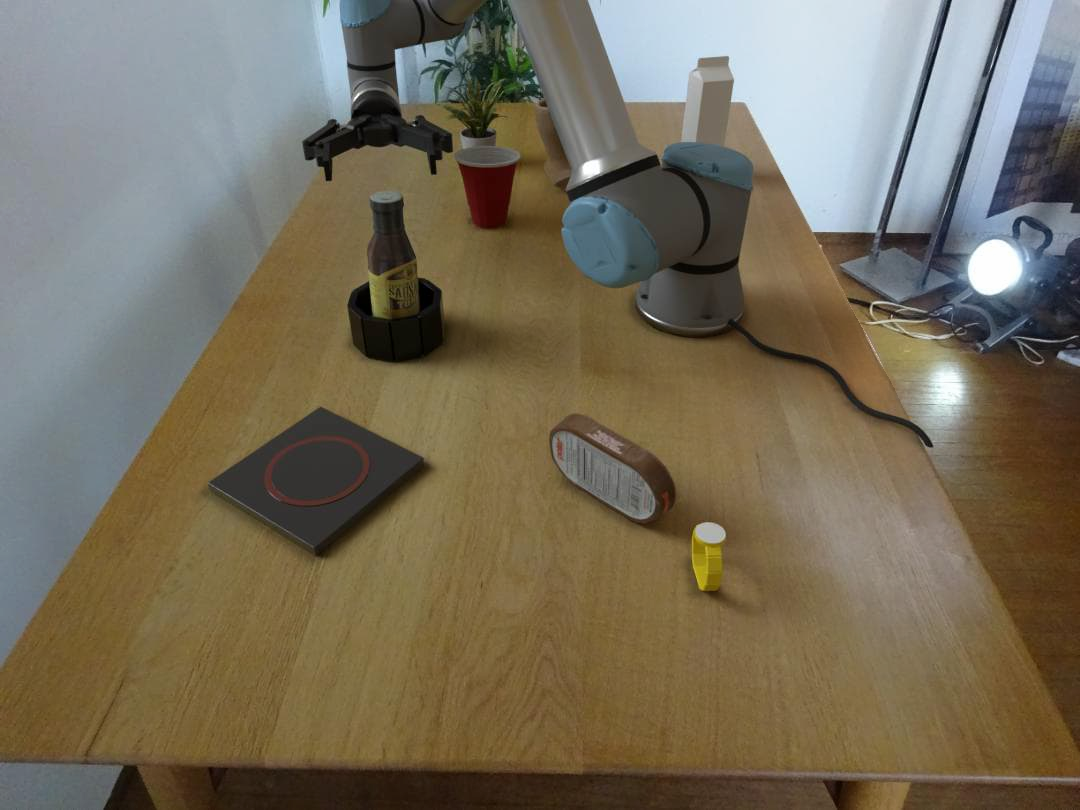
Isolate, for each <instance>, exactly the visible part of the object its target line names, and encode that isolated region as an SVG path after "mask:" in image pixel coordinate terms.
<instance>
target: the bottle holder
mask: <svg viewBox="0 0 1080 810" xmlns="http://www.w3.org/2000/svg"><path fill="white" fill-rule="evenodd" d="M418 288H419V303H420V312H419V313H418V314H416V315H411V316H406V317H400V318H394V319H387V318H381V317H375V316H373V313H372V303H371V293H370V284H369V280H368V281H366V282H364V283H363V284H361V285H360V286H357V287H356V288H354V289H352V291H351V292H350V295H349V297H348V301H347V305H346V308H347V314H348V319H349V325H350V333H351V337H352V338H351V339H352V344H353V346H354V347H355V348H356V349H357V350H358V351H359V352H360V353H362V355H364V357H366V358H368V359H372V360H377V361H378V360H379V361H385V362H389V363H394V362H395V363H400V362H404V361H410V360H415V359H421V358H423V357H426V356H428V355H429V354H430V353H432V352H433V351H435V350H436V349H437V348H439V347H441V346H442V345H443V343H444V339H445V331H446V326H445V315H444V312H445V311H444V301H443V290H442V289H441V288H439V287H438V286H437V285H435V284H434V283H433V282H431V280H429V279H427V278H425V277H420V276H418Z"/></svg>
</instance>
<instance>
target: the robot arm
mask: <svg viewBox="0 0 1080 810" xmlns="http://www.w3.org/2000/svg"><path fill="white" fill-rule="evenodd" d="M487 1H488V0H339V21H340V25H341V31H342V36H343V42H344V43H343V45H344V50H345V56H346V70H347V77H348V85H349V94H350V120H349V121H348V122H347V124H340V122H338V120H337V119H335V118H330V119H328V120H327V123H326V124H325V125H324V126H322V127H321V128H319V129H318V130H317V131H315V132H314V133H312V134H311V135H309V136H308V137H306V138H305V139H303V140H302V141H301V145H302V149H303V150H302V151H303V156H304V160H305V161H308V162H309V161H313V160H314V159H315V162H316V166H317V167H318V168H323V171H324V172H323V173H324V178H325V182H333V164H334V163H333V159H334V158H335V157H338V156H339V155H342V154H344V153H346V152H349V151H350V150H352V149H355V150H360V149H362V148H364V147H367V146H369V147H372V148H384V147H388V146H390V145H393V146H397V147H399V148H402V147H405V146H406V147H409V148H412V149H415V150H418V151H421V152H424V153H426V157H427V161H428V162H427V163H428V166H429V172H430V176H436V175H438V173H437V161H442V160H443V159H444V158H443V152H444V153H447V154H450V153H453V152H454V144H453V133H452V132H450V131H448V130H446V129H445V128H442V127H440V126H438V125H436V124H435V123H433V122H431V121H429V120H427V118H425V116H424V115H422V114H417V115H415V118H414V119H413V121H407V120H406V119H405V118H404V117H403V115H402V114H403V113H402V107H401V101H400V95H399V93H400V92H399V84H398V75H397V66H396V65H397V63H396V50H400V49H405V48H409V47H410V48H411V47H416V46H421V45H425V44H430V43H436V42H441V41H451V40H454V39H455V38H457V37H461V36H465V35H467V33H469V31H470V30H471V29H472V23H473V22H474V20H475V12H477V11H478V10H479V9H480V7H482V6H483V5H484V4H485V3H486V2H487ZM507 3H508V5H509V9H510V10H511V13H512V16H513V19H514V21H515V24H516V26H517V29H518V32H519V34H520V38H521V39H522V42H523V45H524V47H525V50H526V53H527V56H528V59H529V61H530V65H531V66H532V69H533V72H534V74H535V77H536V80H537V82H538V85H539V87H540V91H541V93H542V96H543V99H545V101H546V104H547V106H548V109H549V112H550V114H551V117H552V120H553V122H554V125H555V128H556V130H557V133H558V136H559V138H560V141H561V144H562V146H563V149H564V152H565V154H566V157H567V160H568V162H569V165H570V168H571V170H572V172H571V177H570V180H569V182H568V184H567V187H566V189H564V190H565V193H566V196H567V198H568V201H569V203H570V205H568V207H567V208H566V210H565V211H564V213H563V216H562V221H561V223H562V224H563V226H562V228H561V237H562V241H563V245H564V247H565V250H566V252H567V254H568V256H569V258H570V259H571V261H572V263H573V264H574V265H575V267H576V268H577V269H578V271H580V272H581V273H582V275H584V277H586V278H587V279H588V280H593V282H595V284H597V285H599V286H602V287H605V288H610V289H623V288H627V287H629V286H633V285H634V284H637V283H639V284H638V285H637V286H638V287H637V289H636V293H635V303H634V307H635V311H636V313H637V315H638V316H639V317H640V318H641V320H643V321H644V322H645V323H646V324H648V325H650V326H651V327H653V328H655V329H657V330H660V331H662V332H665V333H668V334H672V335H676V336H682V337H683V336H684V337H689V338H690V337H691V338H692V337H693V338H697V337H699V338H701V337H703V338H704V337H711V336H713V337H714V336H717V335H721V334H724V333H727V332H729V331H732V330H733V329H735V330H736V331H737V332H739V334H741V335H742V336H743V337H745V338H746V339H747V340H748V341H749V342H750V343H751V344H752V345H753V346H755V347H756V348H757V349H760V350H761V351H763V352H765V353H768V354H771V355H774V356H777V357H781V358H785V359H791V360H795V361H800V362H804V363H805V362H806V363H809V364H812V365H814V366H817V367H819V368H821V369H823V370H825V372H827V373H828V374H830V375H831V376H832V377H833V378H834V380H835V381H836V382H837V383H838V385H839V387H840V389H841V390H842V392H843V393H844V395H845V396H846V398H847V399H848V400H849V401H850V402H851V404H853V406H855V407H856V408H858V409H859V410H860V411H861V412H863V413H865V414H868V415H869V416H872V417H874V418H877V419H881V420H884V421H888V422H892V423H895V424H898V425H901V426H903V427H906V428H907V429H910V430H911V431H912V432H914V433H915V434H916V435H917V436H918V437H919V438H920V440H921V441H922V442H923V444H924V446H926V447H928V448H930V449H932V448H934V444H933V443H932V440H931V438H930V437H929V435H928V434H927V433H926V432H925V431H924V430H923V429H922V428H921V427H919V425H917V424H915V423H914V422H912V421H910V420H908V419H906V418H903V417H900V416H897V415H893V414H890V413H886V412H882V411H879V410H877V409H874V408H872V407H869V406H868V405H866V404H864V402H862V401H861V400H860V399H858V398H857V397H856V396H855V395H854V393H853V392H852V390H851V389H850V387H849V385H848V384H847V382H846V380H845V379H844V378H843V376H842V375H841V374H840V373H839V372H838V371H837V370H836V369H835V368H834V367H833V366H831V365H829V364H827V363H826V362H824V361H822V360H821V359H817V358H815V357H812V356H808V355H804V354H799V353H794V352H789V351H784V350H780V349H777V348H774V347H772V346H771V347H770V346H768V345H766V344H764V343H762V342H760V341H759V340H758V339H757V338H756V337H755V336H754V335H753V334H752V333H750V331H748V330H747V329H746V328H744V327H743V326H742V325H741V324H740V323H741V321H742V320H743V316H744V311H745V296H744V289H743V284H742V279H741V274H740V273H741V272H740V267H739V261H740V256H741V252H742V245H743V240H744V235H745V229H746V224H747V217H748V212H749V208H750V202H751V196H752V192H753V191H754V187H753V181H754V172H755V166H754V164H753V162H752V161H751V159H750V158H749V157H748V156H747V155H746V154H744V153H742V152H740V151H737V150H735V149H733V148H730V147H726V146H724V147H723V146H718V145H713V144H707V143H699V142H681V141H680V142H675V143H671V144H668V145H667V146H666V147H665V149H664V150H663V155H662V157H661V159H659V157H658V153H657V151H655V150H652V149H651V148H648V147H647V146H645V145H643V144H641V143H640V142H639V140H638V137H637V134H636V130H635V128H634V125H633V123H632V120H631V119H632V118H631V117H630V114H629V112H628V109H627V106H626V104H625V100H624V97H623V95H622V91H621V89H620V85H619V83H618V80H617V77H616V74H615V72H614V68H613V66H612V64H611V61H610V58H609V55H608V53H607V49H606V47H605V44H604V41H603V38H602V36H601V33H600V30H599V27H598V24H597V22H596V18H595V16H594V14H593V10H592V7H591V5H590V2H589V0H507ZM660 160H661V162H660Z"/></svg>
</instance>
